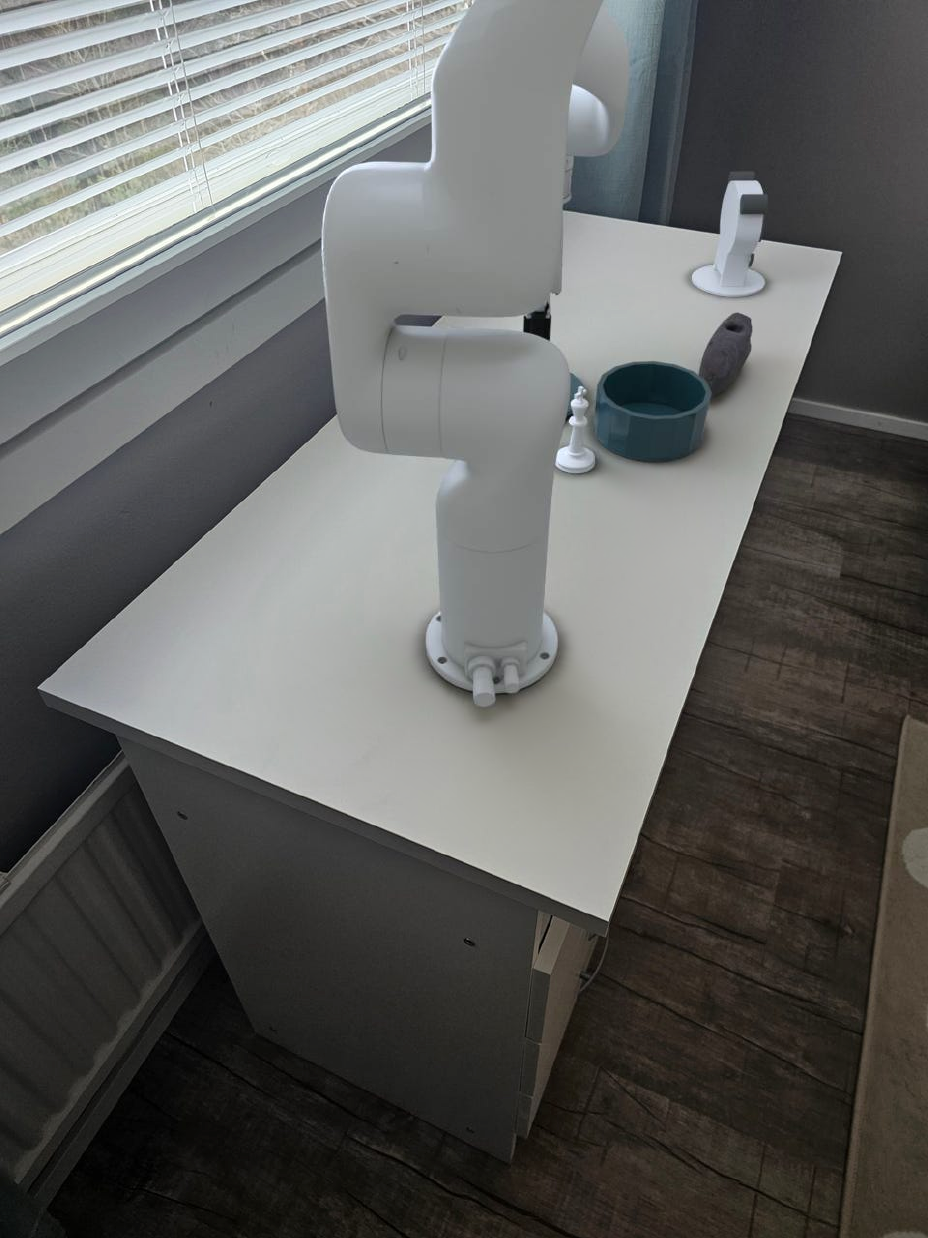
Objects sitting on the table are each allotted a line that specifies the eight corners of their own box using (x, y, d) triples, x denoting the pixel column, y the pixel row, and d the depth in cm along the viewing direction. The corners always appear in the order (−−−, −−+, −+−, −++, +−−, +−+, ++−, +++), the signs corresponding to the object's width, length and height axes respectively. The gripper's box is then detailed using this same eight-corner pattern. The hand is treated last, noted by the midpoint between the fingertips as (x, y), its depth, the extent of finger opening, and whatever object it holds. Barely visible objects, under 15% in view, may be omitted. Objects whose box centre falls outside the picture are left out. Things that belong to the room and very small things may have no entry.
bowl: (713, 459, 107) (723, 416, 102) (602, 464, 106) (607, 420, 102) (688, 401, 116) (696, 359, 112) (586, 405, 116) (590, 362, 112)
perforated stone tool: (719, 412, 114) (729, 363, 109) (680, 402, 116) (688, 353, 111) (753, 361, 123) (764, 314, 118) (716, 353, 125) (725, 305, 120)
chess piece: (603, 460, 107) (611, 386, 100) (578, 478, 104) (585, 403, 97) (571, 445, 109) (577, 371, 102) (545, 462, 107) (550, 388, 100)
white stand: (772, 298, 137) (796, 197, 127) (698, 298, 138) (716, 197, 127) (756, 265, 146) (777, 168, 135) (686, 266, 146) (702, 168, 136)
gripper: (582, 208, 92) (571, 361, 104) (562, 158, 105) (553, 299, 117) (510, 210, 92) (507, 363, 104) (498, 160, 105) (496, 301, 116)
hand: (531, 329), depth 110 cm, fingers open, 9 cm apart
